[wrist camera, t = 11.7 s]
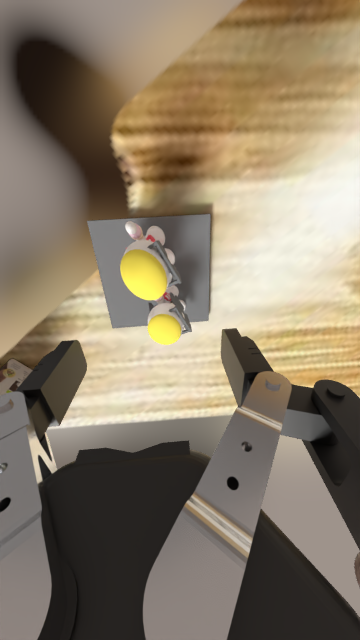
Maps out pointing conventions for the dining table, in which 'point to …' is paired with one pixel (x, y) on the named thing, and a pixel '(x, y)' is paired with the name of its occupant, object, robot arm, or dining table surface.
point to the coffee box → (12, 376)
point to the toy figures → (155, 282)
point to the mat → (190, 261)
